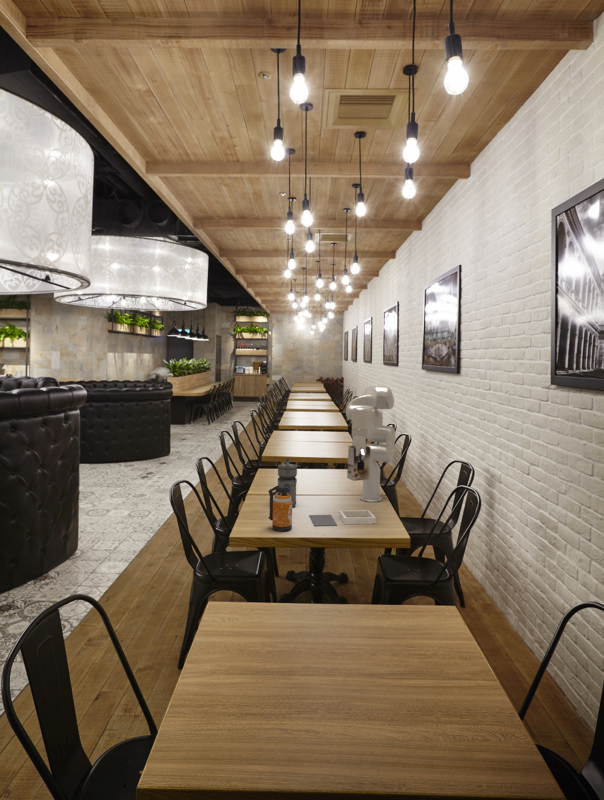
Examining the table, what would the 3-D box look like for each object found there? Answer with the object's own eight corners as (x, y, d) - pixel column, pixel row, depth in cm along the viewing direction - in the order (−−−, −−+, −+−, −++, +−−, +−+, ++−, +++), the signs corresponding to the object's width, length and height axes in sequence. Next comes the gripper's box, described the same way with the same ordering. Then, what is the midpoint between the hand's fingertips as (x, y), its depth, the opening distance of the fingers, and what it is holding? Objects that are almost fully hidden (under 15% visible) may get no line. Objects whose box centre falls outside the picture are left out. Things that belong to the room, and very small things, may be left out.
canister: (289, 532, 228) (290, 489, 227) (265, 530, 230) (266, 487, 229) (293, 526, 237) (294, 484, 235) (270, 524, 239) (271, 482, 238)
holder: (338, 516, 254) (339, 510, 254) (368, 515, 256) (368, 510, 256) (344, 524, 242) (344, 518, 241) (375, 523, 244) (375, 517, 243)
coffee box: (353, 481, 243) (354, 448, 241) (346, 478, 248) (347, 446, 247) (369, 479, 247) (370, 447, 245) (362, 476, 252) (363, 444, 251)
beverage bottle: (295, 501, 278) (296, 457, 276) (296, 509, 265) (297, 462, 263) (277, 501, 278) (278, 456, 276) (277, 508, 264) (277, 461, 262)
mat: (309, 515, 254) (309, 515, 254) (330, 515, 255) (330, 514, 255) (314, 526, 238) (314, 525, 238) (337, 525, 239) (337, 524, 239)
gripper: (348, 429, 254) (347, 464, 255) (356, 435, 236) (355, 472, 238) (362, 429, 255) (361, 464, 256) (371, 435, 237) (370, 472, 239)
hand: (358, 467), depth 247 cm, fingers closed on coffee box, 7 cm apart
